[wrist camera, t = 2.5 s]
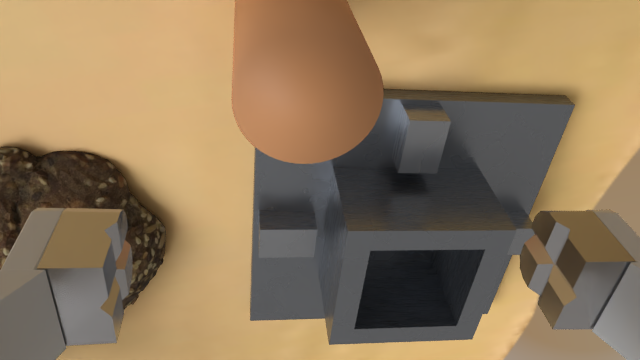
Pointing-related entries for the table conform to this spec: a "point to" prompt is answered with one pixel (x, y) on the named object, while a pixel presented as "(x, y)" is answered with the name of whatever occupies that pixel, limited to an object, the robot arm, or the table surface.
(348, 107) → the rounded pin
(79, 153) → the bread roll
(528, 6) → the table surface
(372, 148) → the hollow box on baseplate
